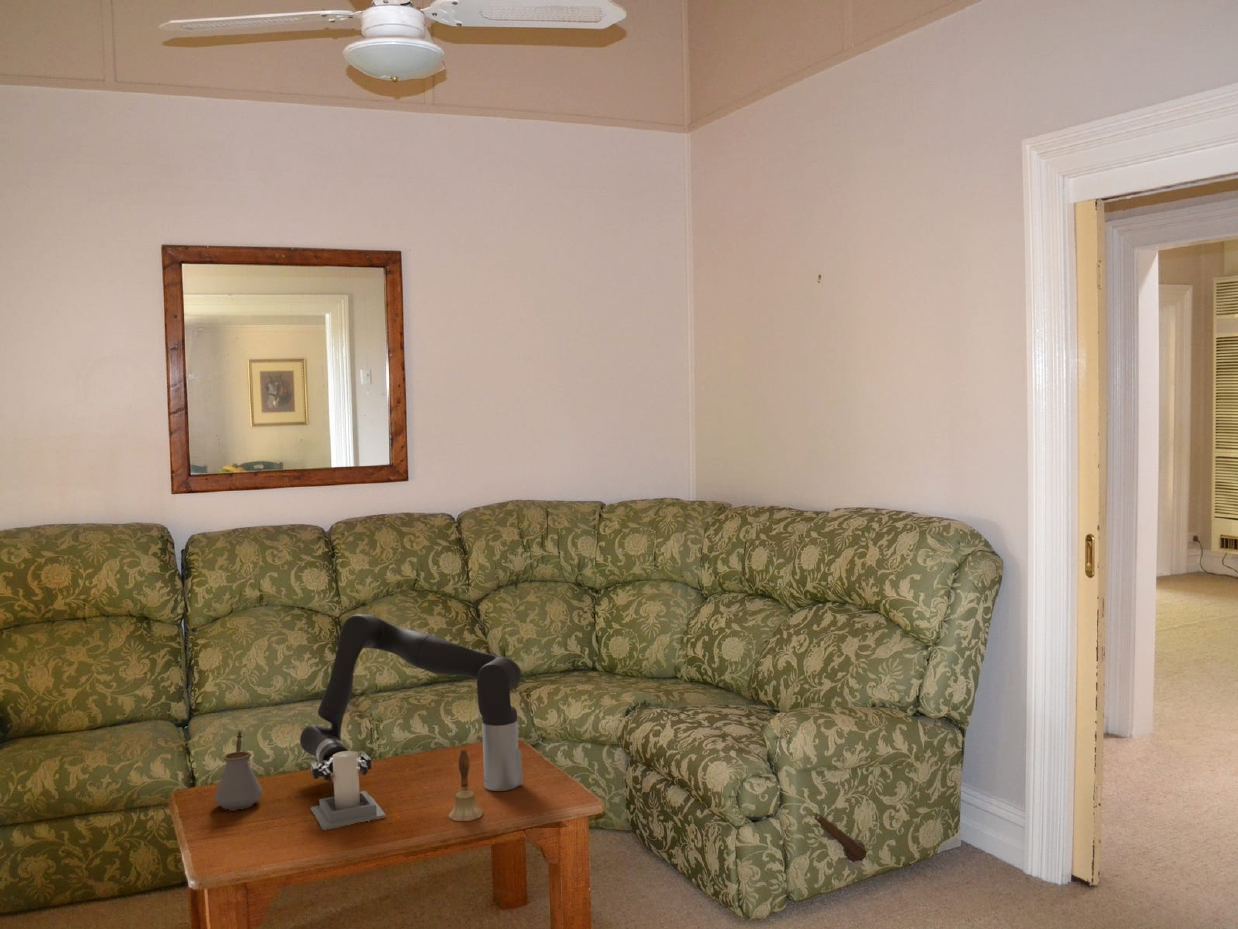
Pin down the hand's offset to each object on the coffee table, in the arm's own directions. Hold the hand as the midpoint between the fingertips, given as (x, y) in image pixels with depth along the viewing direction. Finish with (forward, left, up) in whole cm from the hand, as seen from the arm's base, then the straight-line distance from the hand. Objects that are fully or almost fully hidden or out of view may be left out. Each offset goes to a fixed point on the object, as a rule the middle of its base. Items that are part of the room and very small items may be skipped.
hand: (347, 774), depth 258 cm
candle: (0, -1, -9) cm, 10 cm away
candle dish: (0, -1, -10) cm, 10 cm away
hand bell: (-25, +15, -11) cm, 31 cm away
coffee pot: (+22, -27, -11) cm, 37 cm away
